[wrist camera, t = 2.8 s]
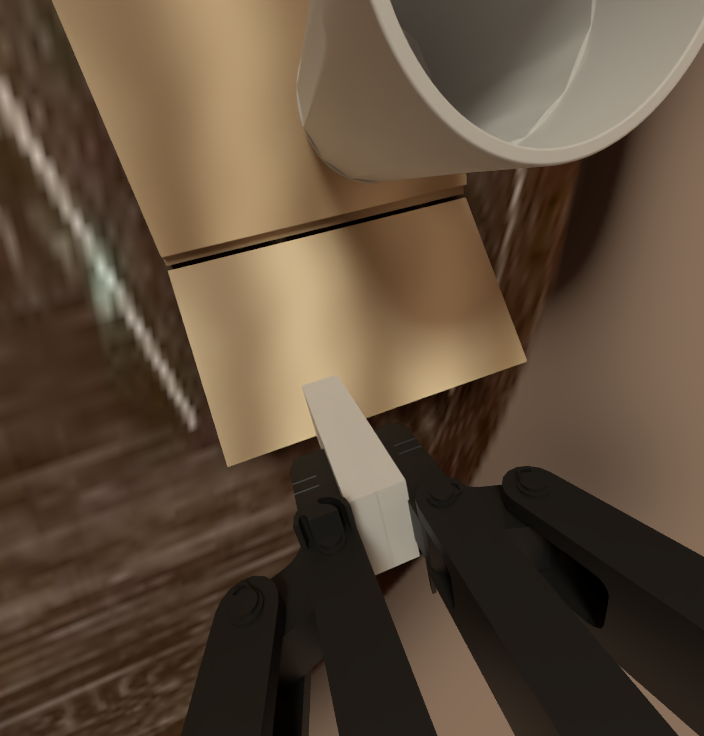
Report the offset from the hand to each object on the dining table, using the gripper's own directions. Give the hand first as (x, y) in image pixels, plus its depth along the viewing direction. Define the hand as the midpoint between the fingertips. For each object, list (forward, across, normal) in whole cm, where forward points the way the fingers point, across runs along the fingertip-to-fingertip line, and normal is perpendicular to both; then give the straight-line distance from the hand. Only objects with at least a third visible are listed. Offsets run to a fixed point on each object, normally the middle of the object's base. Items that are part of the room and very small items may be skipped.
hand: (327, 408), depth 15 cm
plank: (+4, +3, +2) cm, 5 cm away
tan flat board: (+6, +3, +11) cm, 13 cm away
